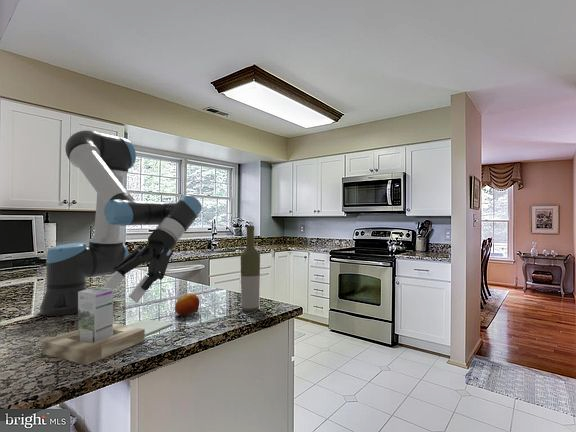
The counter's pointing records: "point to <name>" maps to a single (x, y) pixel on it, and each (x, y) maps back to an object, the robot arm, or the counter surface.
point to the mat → (150, 325)
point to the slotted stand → (92, 345)
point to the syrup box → (95, 314)
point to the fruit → (187, 305)
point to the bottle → (250, 274)
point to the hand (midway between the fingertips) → (117, 296)
